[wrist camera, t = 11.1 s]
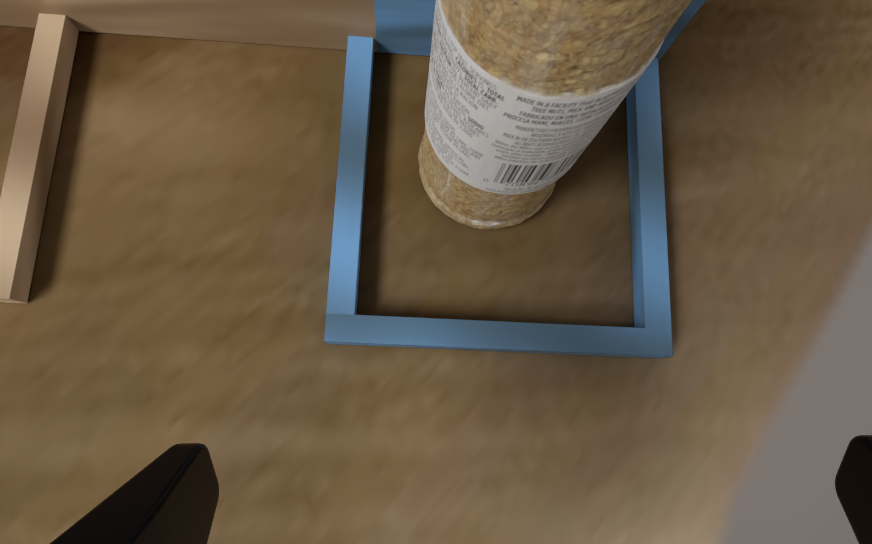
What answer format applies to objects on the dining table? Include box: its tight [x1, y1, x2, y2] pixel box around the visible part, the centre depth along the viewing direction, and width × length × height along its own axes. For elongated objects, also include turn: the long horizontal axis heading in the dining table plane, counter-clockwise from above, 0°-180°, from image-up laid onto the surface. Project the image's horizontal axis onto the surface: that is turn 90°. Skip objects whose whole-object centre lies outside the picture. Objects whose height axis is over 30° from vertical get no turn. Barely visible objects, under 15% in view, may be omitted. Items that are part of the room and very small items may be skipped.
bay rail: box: [0, 0, 706, 358], centre depth 16 cm, size 11×29×4 cm, turn 88°
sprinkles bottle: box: [418, 0, 692, 229], centre depth 12 cm, size 5×5×13 cm
